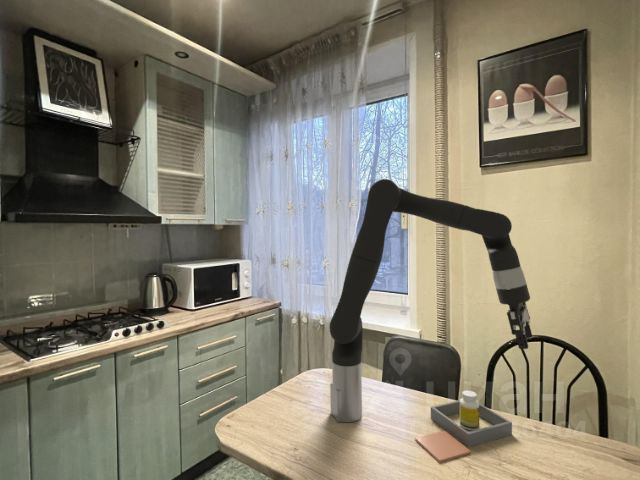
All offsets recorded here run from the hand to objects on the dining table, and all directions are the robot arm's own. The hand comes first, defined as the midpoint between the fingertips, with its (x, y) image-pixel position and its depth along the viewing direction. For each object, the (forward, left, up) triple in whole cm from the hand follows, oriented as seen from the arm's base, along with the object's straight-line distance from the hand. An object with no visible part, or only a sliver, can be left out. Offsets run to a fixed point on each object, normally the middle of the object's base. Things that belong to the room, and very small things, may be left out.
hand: (526, 342), depth 93 cm
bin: (-9, +12, -27) cm, 31 cm away
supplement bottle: (-9, +12, -27) cm, 31 cm away
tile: (-23, +7, -27) cm, 36 cm away
